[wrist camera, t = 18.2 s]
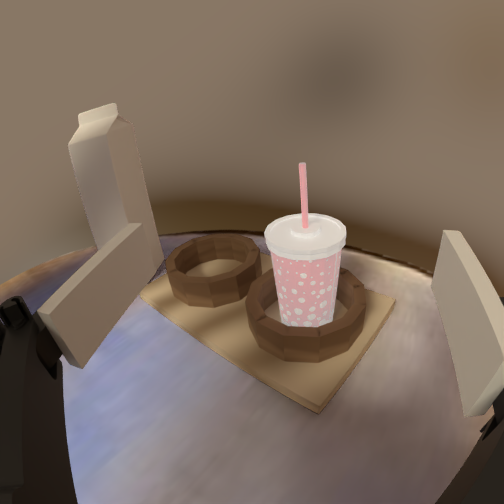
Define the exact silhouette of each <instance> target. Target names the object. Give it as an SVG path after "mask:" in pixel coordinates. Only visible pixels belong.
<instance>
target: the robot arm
mask: <svg viewBox="0 0 504 504" xmlns="http://www.w3.org/2000/svg"><path fill="white" fill-rule="evenodd" d="M155 273H156V269H155V265H154V262H153V259H152V255H151V252H150V248H149V245H148V241H147V238H146V234H145V231H144V227H143V223H130V224H128V225H127V226H126V227H125V228H124V229H123V230H121V231H120V232H119V233H118V234H117V235H116V236H115V237H113V238H112V239H111V240H110V241H109V242H108V243H107V244H105V245H104V246H103V247H102V248H101V249H100V250H99V251H98V252H97V253H96V254H94V255H93V256H92V257H91V258H90V259H89V260H88V261H87V262H86V263H85V264H84V265H83V266H81V267H80V268H79V269H78V270H77V271H76V272H75V273H74V274H73V275H72V276H71V277H70V278H69V279H68V280H67V281H66V282H65V283H64V284H63V285H62V286H61V287H60V288H59V289H58V290H57V291H56V292H55V293H54V294H53V295H52V296H51V297H50V298H49V299H48V300H47V301H46V302H45V303H44V304H43V305H42V306H41V307H40V308H39V309H38V310H37V311H36V312H35V313H34V314H33V315H31V313H30V311H29V309H28V307H27V306H26V304H25V302H24V300H23V298H22V297H21V296H14V297H11V298H9V299H7V300H6V301H5V302H3V303H2V304H1V305H0V318H1V319H2V321H3V323H4V324H5V325H3V323H2V322H1V320H0V504H78V503H77V498H76V493H75V488H74V483H73V478H72V472H71V466H70V459H69V452H68V445H67V436H66V426H65V415H64V399H63V366H62V362H61V361H60V359H59V358H60V357H61V355H62V354H63V355H64V357H65V358H66V360H67V361H68V363H69V364H70V365H73V366H75V367H78V368H81V369H83V368H84V366H85V365H86V364H87V362H88V361H89V359H90V358H91V357H92V355H93V354H94V352H95V351H96V350H97V348H98V347H99V346H100V344H101V343H102V342H103V340H104V339H105V338H106V336H107V335H108V334H109V332H110V331H111V330H112V328H113V327H114V326H115V324H116V323H117V322H118V320H119V319H120V318H121V316H122V315H123V314H124V313H125V311H126V310H127V309H128V307H129V306H130V305H131V304H132V302H133V301H134V300H135V298H136V297H137V296H138V295H139V293H140V292H141V291H142V290H143V288H144V287H145V286H146V285H147V283H148V282H149V281H150V280H151V278H152V277H153V276H154V275H155ZM431 288H432V291H433V294H434V297H435V300H436V303H437V306H438V309H439V312H440V316H441V319H442V322H443V326H444V329H445V333H446V336H447V340H448V344H449V348H450V352H451V356H452V360H453V364H454V368H455V372H456V377H457V382H458V386H459V391H460V397H461V402H462V408H463V414H464V417H472V416H479V415H484V414H485V413H486V412H487V410H488V409H489V408H490V407H491V405H492V404H493V408H494V413H495V414H494V415H493V416H492V418H491V419H490V420H489V421H488V422H487V423H486V424H485V426H484V427H483V428H482V429H481V430H480V432H481V433H482V432H483V431H484V432H483V433H482V435H481V437H480V439H479V440H478V442H477V444H476V445H475V447H474V449H473V450H472V452H471V454H470V455H469V457H468V458H467V460H466V461H465V463H464V464H463V466H462V467H461V469H460V470H459V472H458V473H457V475H456V476H455V478H454V479H453V480H452V482H451V483H450V485H449V486H448V487H447V489H446V490H445V491H444V493H443V494H442V495H441V496H440V498H439V499H438V500H437V502H436V503H435V504H504V297H498V295H497V293H496V291H495V289H494V287H493V285H492V284H491V282H490V280H489V278H488V276H487V275H486V273H485V271H484V269H483V268H482V266H481V264H480V263H479V261H478V259H477V258H476V256H475V254H474V253H473V251H472V250H471V248H470V246H469V245H468V244H467V242H466V240H465V239H464V237H463V236H462V234H461V233H460V231H450V230H444V231H443V235H442V241H441V245H440V250H439V255H438V259H437V264H436V268H435V272H434V276H433V280H432V284H431Z"/></svg>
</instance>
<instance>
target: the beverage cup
mask: <svg viewBox="0 0 504 504" xmlns="http://www.w3.org/2000/svg"><path fill="white" fill-rule="evenodd" d="M299 174H300V190H301V210H302V213H301V214H294V215H288V216H285V217H282V218H279V219H276V220H275V221H273V222H272V223H271V224H269V225H268V226H267V228H266V230H265V232H264V235H265V238H266V244H267V247H268V249H269V250H270V252H271V258H272V264H273V271H274V277H275V283H276V289H277V296H278V302H279V309H280V315H281V321H282V323H283V324H285V325H287V326H299V327H319V326H321V325H324V324H327V323H330V322H332V320H333V313H334V307H335V300H336V292H337V285H338V277H339V268H340V260H341V251H342V248H343V246H344V245H345V239H346V227H345V226H344V225H343V224H342V223H341V222H340V221H339V220H337V219H335V218H332V217H330V216H326V215H321V214H314V213H313V214H312V213H308V198H307V179H306V163H299Z"/></svg>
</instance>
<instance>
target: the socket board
mask: <svg viewBox="0 0 504 504" xmlns="http://www.w3.org/2000/svg"><path fill="white" fill-rule="evenodd" d="M165 264H166V270H167V273H166V274H164V275H163V276H161V277H159V278H158V279H156V280H154V281H153V282H151V283H149V284H148V285H146V286H145V287H144V288H143V290H142V291H141V292H140V293H139V294H140V296H141V299H143V300H144V301H145V302H147V303H148V304H149V305H150V306H152V307H153V308H154V309H156V310H157V311H158V312H160V313H161V314H162V315H164V316H165V317H166V318H168V319H169V320H170V321H172V322H173V323H175V324H176V325H177V326H179V327H180V328H182V329H183V330H184V331H186V332H187V333H189V334H190V335H191V336H193V337H194V338H196V339H197V340H199V341H200V342H201V343H203V344H204V345H206V346H207V347H209V348H210V349H212V350H213V351H215V352H216V353H218V354H219V355H221V356H222V357H224V358H225V359H227V360H228V361H230V362H231V363H233V364H234V365H236V366H238V367H239V368H241V369H242V370H244V371H245V372H247V373H249V374H250V375H252V376H253V377H255V378H257V379H258V380H260V381H262V382H263V383H265V384H266V385H268V386H270V387H271V388H273V389H275V390H277V391H278V392H280V393H282V394H283V395H285V396H287V397H289V398H290V399H292V400H294V401H296V402H297V403H299V404H301V405H303V406H304V407H306V408H308V409H310V410H312V411H314V412H315V413H317V414H319V413H320V412H321V411H322V410H323V409H324V407H325V406H326V405H327V404H328V402H329V401H330V400H331V399H332V397H333V396H334V395H335V393H336V392H337V391H338V389H339V388H340V387H341V386H342V384H343V383H344V382H345V380H346V379H347V377H348V376H349V375H350V373H351V372H352V371H353V369H354V368H355V366H356V365H357V364H358V362H359V361H360V359H361V358H362V357H363V355H364V354H365V352H366V351H367V349H368V348H369V346H370V345H371V343H372V342H373V340H374V339H375V337H376V336H377V334H378V333H379V331H380V330H381V328H382V327H383V325H384V323H385V322H386V320H387V319H388V317H389V315H390V314H391V312H392V310H393V309H394V304H395V300H396V299H393V298H390V297H387V296H385V295H382V294H379V293H376V292H373V291H370V290H367V289H364V285H363V284H362V283H361V282H360V281H359V280H358V279H357V278H356V277H355V276H354V275H353V274H351V273H350V272H349V271H348V270H346V269H343V268H339V277H338V285H337V292H336V300H335V307H334V313H333V320H332V322H330V323H327V324H324V325H321V326H319V327H299V326H287V325H285V324H283V323H282V321H281V315H280V309H279V302H278V296H277V289H276V283H275V277H274V271H273V264H272V258H271V256H270V255H267V254H264V253H261V252H260V249H259V248H258V247H257V245H256V244H255V243H254V241H253V240H252V239H250V238H247V237H244V236H241V235H238V234H211V235H207V236H203V237H199V238H195V239H192V240H190V241H188V242H186V243H184V244H182V245H181V246H179V247H177V248H175V249H174V250H173V252H172V253H171V254H170V255H169V257H168V258H167V259H166V260H165Z"/></svg>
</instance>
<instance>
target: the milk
mask: <svg viewBox="0 0 504 504" xmlns="http://www.w3.org/2000/svg"><path fill="white" fill-rule="evenodd" d="M78 120H79V125H80V126H79V128H78V129H77V131H76V132H75V134H74V136H73V137H72V139H71V140H70V142H69V143H68V148H69V153H70V157H71V161H72V165H73V169H74V172H75V177H76V180H77V184H78V188H79V191H80V195H81V198H82V202H83V205H84V208H85V212H86V215H87V218H88V221H89V224H90V227H91V230H92V233H93V236H94V239H95V242H96V245H97V248H98V251H99V250H100V249H101V248H102V247H103V246H104V245H105V244H107V243H108V242H109V241H110V240H111V239H112V238H113V237H115V236H116V235H117V234H118V233H119V232H120V231H121V230H123V229H124V228H125V227H126V226H127V225H128V224H130V223H143V227H144V231H145V234H146V238H147V241H148V245H149V248H150V252H151V255H152V259H153V262H154V265H155V269H156V271H157V269H158V268H159V266H160V265H161V264H162V262H163V261H164V255H163V252H162V248H161V244H160V241H159V237H158V233H157V229H156V225H155V221H154V217H153V213H152V209H151V205H150V201H149V197H148V193H147V188H146V184H145V180H144V175H143V171H142V166H141V161H140V157H139V152H138V147H137V142H136V136H135V131H134V126H133V124H132V123H130V122H129V121H127V120H126V119H124V118H123V117H121V116H120V115H119V114H118V109H117V105H116V103H111V104H108V105H104V106H101V107H98V108H95V109H92V110H89V111H86V112H83V113H80V114H79V115H78ZM147 284H148V283H147Z"/></svg>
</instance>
